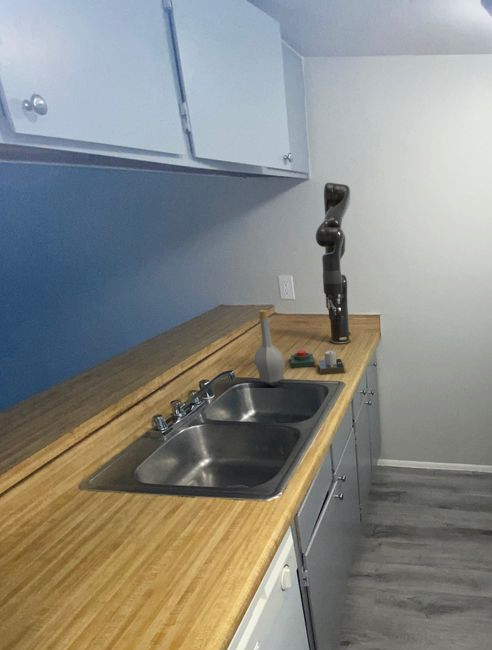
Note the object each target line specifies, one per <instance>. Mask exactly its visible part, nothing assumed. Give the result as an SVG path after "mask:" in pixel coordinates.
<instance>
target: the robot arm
mask: <svg viewBox="0 0 492 650" xmlns="http://www.w3.org/2000/svg"><path fill="white" fill-rule="evenodd" d="M350 204H351V188H350V187H349V186H348V185H347V184H343V183H336V182H326V183H325V184H324V187H323V205H324V219H323V222H321V224H320V225H319V226H318V227H317V230H316V232H315V241H316V243H317V245H318V246H320V247H322V248H324V250H325V252H324V254H322V257H321V262H322V263H321V264H322V284H323V293H324V294H325V307H326V309H327V310H328V318H329V323H330V337H331V338H330V339H331V343H332V344H335V345H343V344H348V343H350V335H351V331H350V328H349V325H350V324H349V305H348V279H347V276H346V275H345V274H342V271H341V259H342V258H343V256H344V255H345V252H346V235H345V233H344V230H343V229H342V224H343V219H344V217H345V215H346V213H347V212H348V209H349V207H350Z"/></svg>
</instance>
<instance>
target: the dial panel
mask: <svg viewBox="0 0 492 650" xmlns="http://www.w3.org/2000/svg"><path fill="white" fill-rule="evenodd" d="M318 368H319V372H320V375H332V374H344V373H345V366H344V363H343V360H342V358H336V364H335V365H326V364H325V359H318Z"/></svg>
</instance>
